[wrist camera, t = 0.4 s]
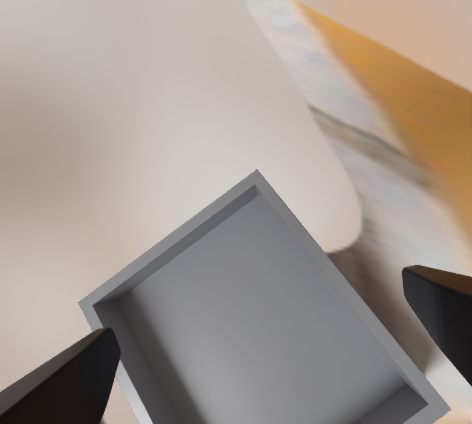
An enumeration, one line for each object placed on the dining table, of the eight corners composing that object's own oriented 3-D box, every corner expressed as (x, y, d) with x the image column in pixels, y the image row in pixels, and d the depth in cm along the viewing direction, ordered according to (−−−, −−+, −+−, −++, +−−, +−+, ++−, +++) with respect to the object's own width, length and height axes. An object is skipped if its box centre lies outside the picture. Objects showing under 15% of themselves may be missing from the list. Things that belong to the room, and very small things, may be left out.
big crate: (418, 383, 20) (451, 409, 16) (231, 521, 20) (218, 581, 16) (261, 185, 24) (257, 169, 21) (110, 298, 24) (78, 302, 21)
